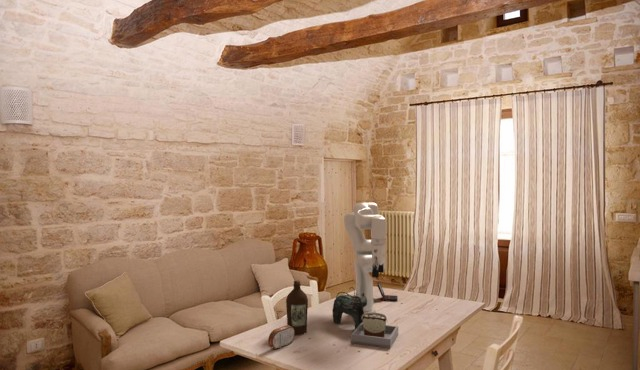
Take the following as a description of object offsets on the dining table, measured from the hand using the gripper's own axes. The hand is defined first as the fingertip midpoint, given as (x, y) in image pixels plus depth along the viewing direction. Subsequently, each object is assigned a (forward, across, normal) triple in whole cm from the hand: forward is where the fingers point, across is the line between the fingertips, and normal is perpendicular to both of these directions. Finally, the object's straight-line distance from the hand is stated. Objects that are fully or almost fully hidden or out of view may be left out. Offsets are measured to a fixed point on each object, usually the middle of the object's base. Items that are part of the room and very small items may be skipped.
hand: (377, 274), depth 231 cm
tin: (+25, -44, +32) cm, 60 cm away
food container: (+24, -19, -4) cm, 31 cm away
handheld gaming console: (+28, +48, +6) cm, 56 cm away
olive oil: (+26, -26, +33) cm, 49 cm away
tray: (+25, -21, -5) cm, 33 cm away
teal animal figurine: (+26, -8, +13) cm, 30 cm away
